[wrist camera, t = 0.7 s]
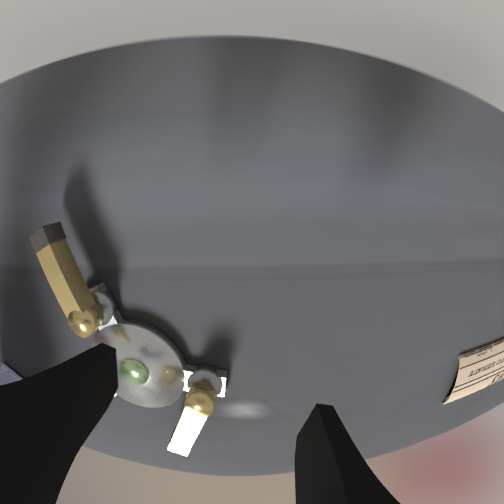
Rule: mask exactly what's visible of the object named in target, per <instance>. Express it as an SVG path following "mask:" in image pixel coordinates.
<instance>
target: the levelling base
mask: <svg viewBox="0 0 504 504" xmlns="http://www.w3.org/2000/svg"><path fill="white" fill-rule="evenodd" d="M89 290H90V292H91V294H92V296H93V298H94V300H95V302H96V303H97V304H98V305H99V306H100V307H101V309H102V310H103V313H104V321H103V323H102V324H101V325H100V326H99V327H98V329H99V332H98V333H97V334H96V336H95V337H94V339H93V341H92V345H91V348H92V347H94V346H96V345H98V344H100V343H104V344H106V345H109V346H111V347H114V348H116V356H117V373H118V386H119V387H118V389H117V391H116V393H115V395H114V397H115V396H116V395H118V396H120V397H121V398H123V399H125V400H127V401H129V402H131V403H134V404H137V405H140V406H144V407H164V406H167V405H170V404H172V403H174V402H175V401H176V400H177V399H178V398H179V397H180V396H181V394H182V392H183V390H185V391H188V390H189V387H190V385H191V384H192V383H194V382H198V381H202V382H207V383H209V384H211V385H212V386H213V387H214V388H215V389H216V392H217V395H216V397H217V396H220V397H224V395H225V388H226V379H227V370H220V369H217V368H215V367H214V366H211V365H207V364H201V365H197V366H196V365H190V364H186V362H185V360H184V357H183V355H182V353H181V352H180V350H179V349H178V347H177V346H176V345H175V344H174V343H173V341H172V340H171V339H169V338H168V337H167V336H166V335H165V334H164V333H162V332H161V331H159V330H158V329H156V328H155V327H153V326H151V325H149V324H146V323H144V322H140V321H137V320H131V319H123V318H122V316H121V314H120V312H119V310H118V303H117V300H116V298H115V297H114V295H113V294H112V293H111V292H110V291H109V290H107V288H106V286H105V284H104V282H102V283H100V284H97V285H95V286H93V287H91V288H89ZM114 397H113V399H114ZM113 399H112V400H113ZM111 402H112V401H111Z"/></svg>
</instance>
